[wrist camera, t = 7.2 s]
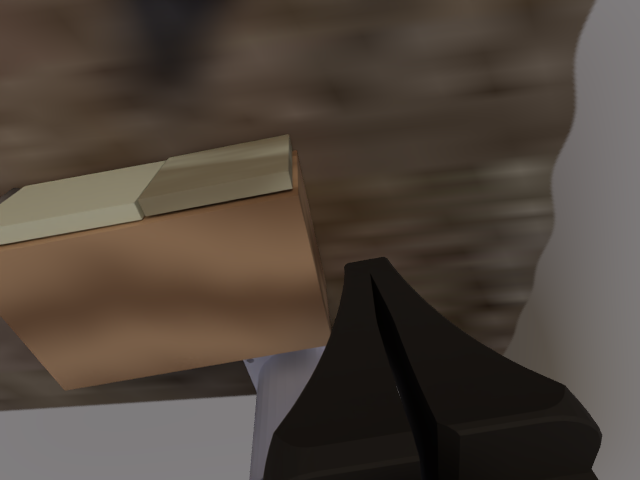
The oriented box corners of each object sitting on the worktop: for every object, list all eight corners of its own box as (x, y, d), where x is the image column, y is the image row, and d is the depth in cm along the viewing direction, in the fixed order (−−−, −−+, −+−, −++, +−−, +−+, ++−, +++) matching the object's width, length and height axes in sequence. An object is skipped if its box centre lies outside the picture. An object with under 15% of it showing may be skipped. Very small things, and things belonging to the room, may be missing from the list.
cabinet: (325, 281, 25) (332, 344, 21) (104, 320, 26) (64, 390, 21) (292, 131, 20) (293, 172, 15) (15, 186, 21) (-64, 241, 16)
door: (172, 173, 21) (140, 222, 16) (16, 201, 21) (-57, 256, 16) (166, 159, 20) (132, 205, 16) (7, 188, 20) (-70, 241, 16)
